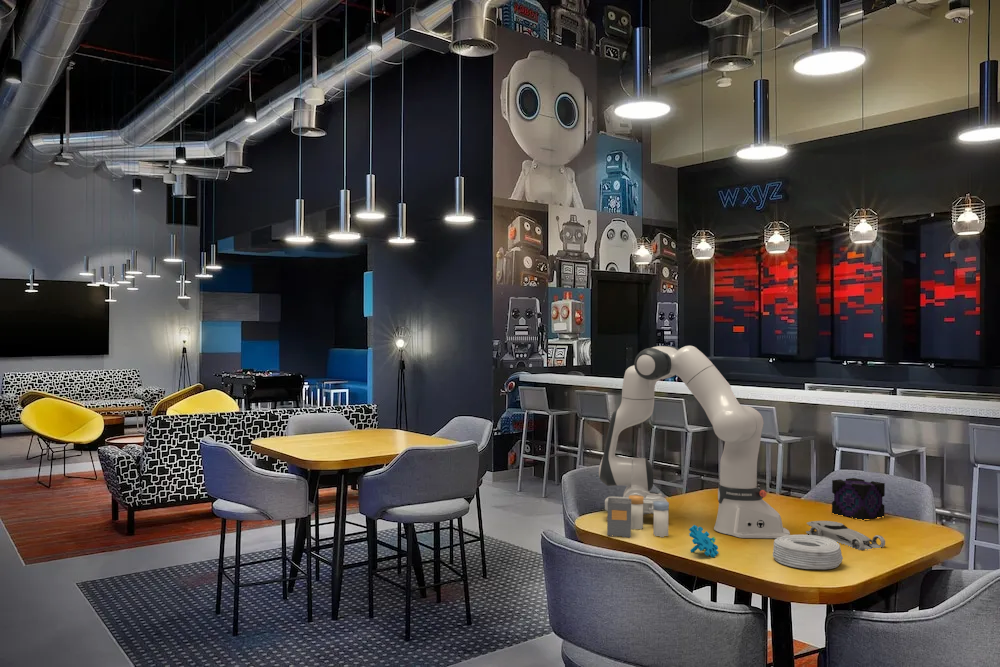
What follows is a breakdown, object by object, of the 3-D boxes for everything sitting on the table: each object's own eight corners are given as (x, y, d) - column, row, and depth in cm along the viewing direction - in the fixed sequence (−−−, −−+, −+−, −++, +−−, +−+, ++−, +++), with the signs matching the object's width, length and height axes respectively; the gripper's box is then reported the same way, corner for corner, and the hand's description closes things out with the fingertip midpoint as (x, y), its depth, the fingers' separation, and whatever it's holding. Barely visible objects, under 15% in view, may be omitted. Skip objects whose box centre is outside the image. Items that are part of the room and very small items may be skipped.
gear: (706, 555, 208) (686, 523, 214) (691, 567, 210) (672, 536, 216) (728, 554, 215) (708, 523, 221) (713, 566, 218) (693, 535, 224)
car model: (861, 552, 222) (861, 535, 222) (796, 533, 244) (797, 517, 244) (888, 549, 226) (889, 532, 226) (823, 530, 248) (823, 515, 249)
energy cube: (853, 511, 279) (853, 477, 280) (884, 517, 269) (884, 483, 269) (831, 514, 273) (832, 480, 274) (863, 521, 263) (863, 485, 263)
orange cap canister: (642, 527, 247) (643, 495, 247) (643, 530, 242) (643, 498, 242) (628, 526, 247) (628, 494, 248) (628, 529, 243) (628, 497, 243)
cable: (833, 557, 216) (833, 535, 216) (850, 574, 198) (850, 551, 198) (767, 552, 219) (767, 531, 219) (779, 570, 201) (779, 546, 201)
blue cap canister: (668, 534, 238) (668, 501, 238) (669, 537, 233) (669, 504, 233) (652, 533, 238) (653, 500, 239) (653, 536, 234) (653, 503, 234)
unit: (630, 531, 240) (631, 498, 241) (630, 537, 232) (631, 504, 232) (608, 529, 242) (608, 497, 242) (607, 536, 233) (607, 502, 233)
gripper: (604, 490, 262) (603, 498, 248) (666, 493, 258) (668, 501, 245) (604, 509, 262) (603, 518, 248) (666, 512, 258) (668, 521, 245)
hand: (636, 509), depth 246 cm, fingers open, 8 cm apart
